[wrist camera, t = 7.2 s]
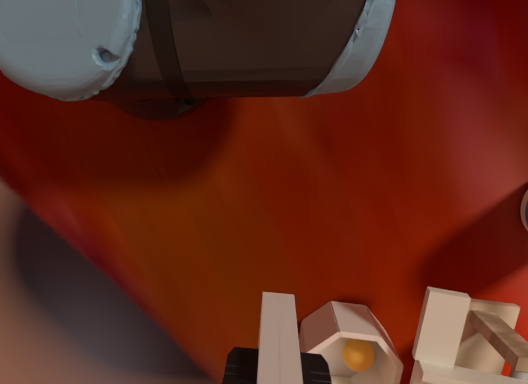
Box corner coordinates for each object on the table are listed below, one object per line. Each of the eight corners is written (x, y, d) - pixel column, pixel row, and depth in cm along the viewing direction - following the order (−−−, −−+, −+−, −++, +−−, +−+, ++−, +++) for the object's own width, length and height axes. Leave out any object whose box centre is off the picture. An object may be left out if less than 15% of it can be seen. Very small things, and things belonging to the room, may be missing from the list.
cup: (305, 297, 49) (309, 327, 42) (390, 308, 49) (409, 339, 42) (293, 372, 52) (296, 412, 45) (375, 382, 51) (390, 424, 45)
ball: (340, 331, 49) (352, 351, 45) (368, 331, 50) (382, 350, 46) (335, 358, 50) (347, 379, 46) (362, 357, 51) (376, 378, 47)
